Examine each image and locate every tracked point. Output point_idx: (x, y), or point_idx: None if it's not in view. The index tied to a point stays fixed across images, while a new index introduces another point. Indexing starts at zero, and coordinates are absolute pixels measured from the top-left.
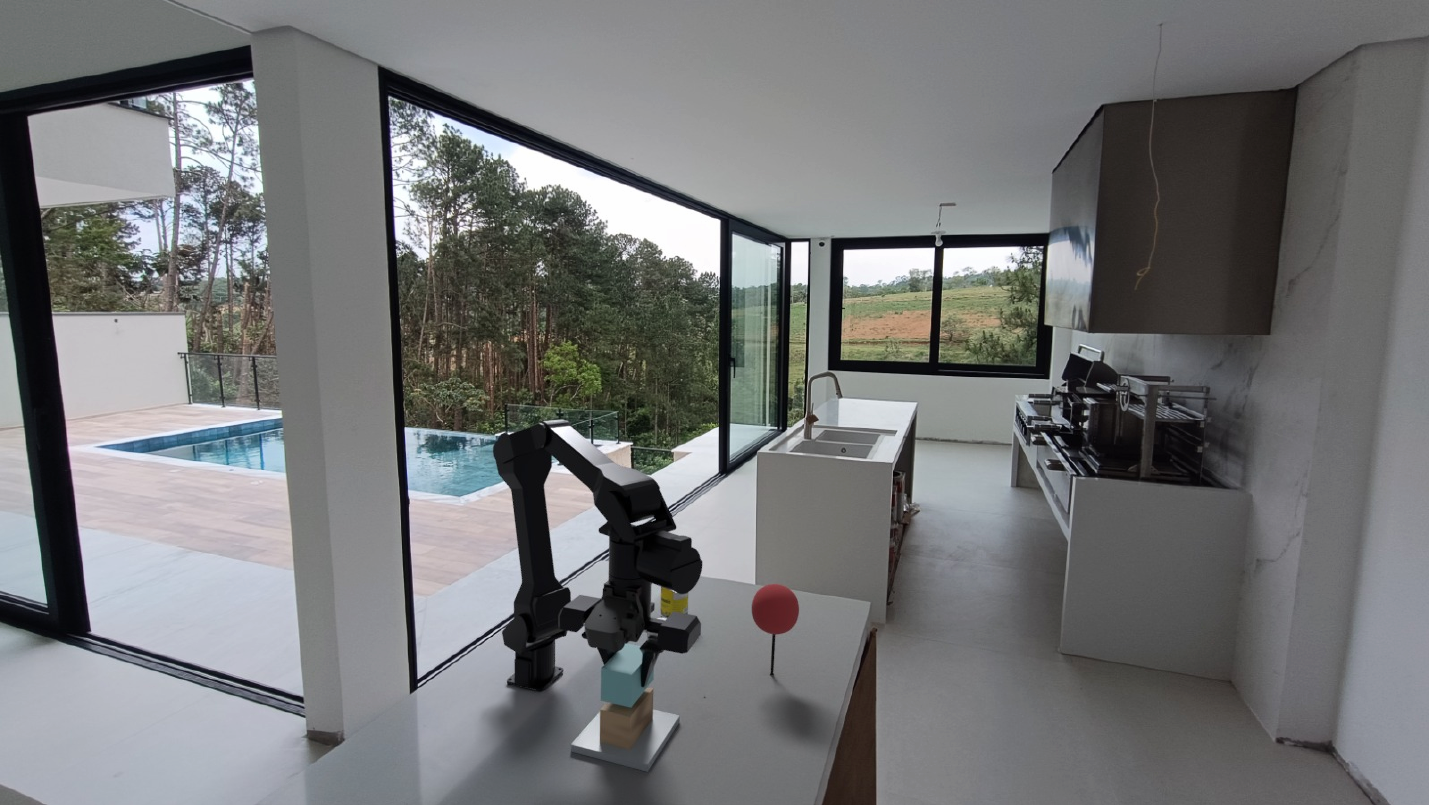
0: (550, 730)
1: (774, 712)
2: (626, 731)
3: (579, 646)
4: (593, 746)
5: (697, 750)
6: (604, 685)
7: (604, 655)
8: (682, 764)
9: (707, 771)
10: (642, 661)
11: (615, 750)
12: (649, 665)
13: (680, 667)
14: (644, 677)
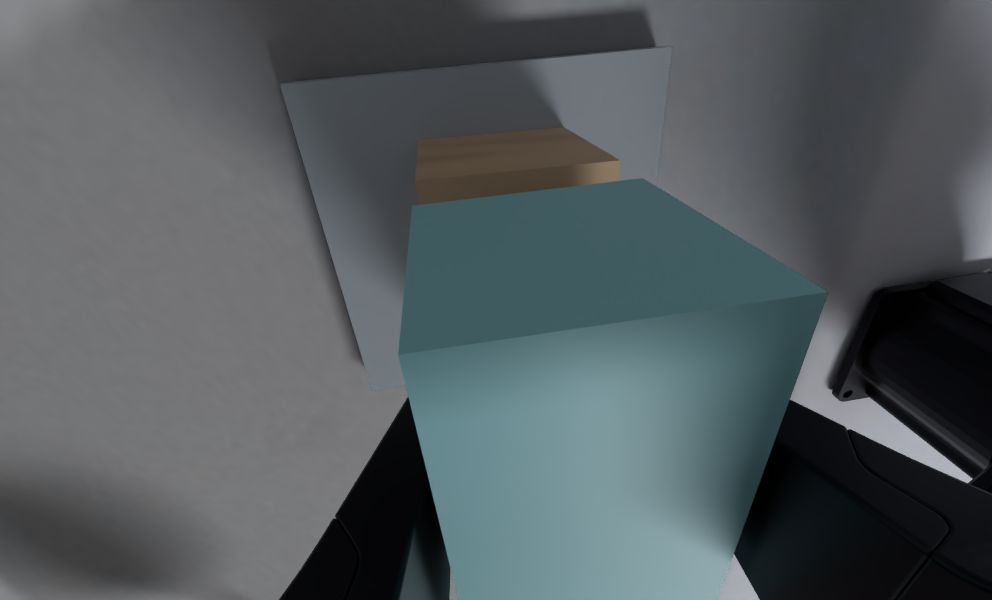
0: (782, 129)
1: (153, 528)
2: (437, 157)
3: None
4: (572, 81)
5: (217, 289)
6: (672, 221)
7: (855, 464)
8: (203, 195)
9: (86, 205)
10: (393, 573)
11: (469, 104)
12: (309, 556)
13: None
14: (402, 431)
